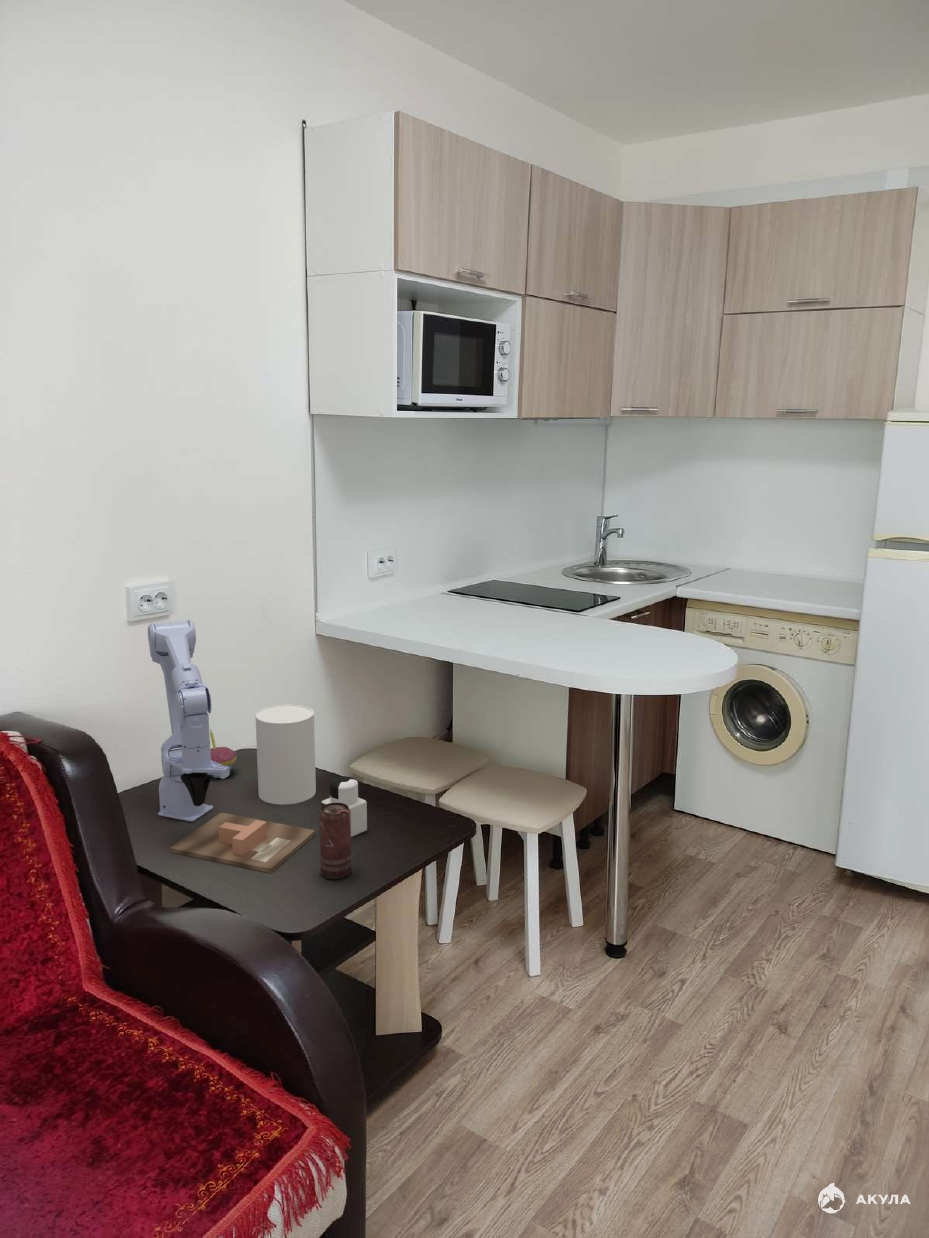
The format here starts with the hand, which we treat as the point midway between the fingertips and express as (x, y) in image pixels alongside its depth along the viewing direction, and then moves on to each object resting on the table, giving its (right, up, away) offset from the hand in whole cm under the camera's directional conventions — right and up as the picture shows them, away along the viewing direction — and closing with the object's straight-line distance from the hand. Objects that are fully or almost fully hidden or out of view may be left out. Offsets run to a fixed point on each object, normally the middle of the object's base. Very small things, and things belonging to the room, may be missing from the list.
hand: (199, 804), depth 191 cm
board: (+9, -8, +1) cm, 13 cm away
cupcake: (-5, 0, +36) cm, 36 cm away
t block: (+9, -8, -1) cm, 12 cm away
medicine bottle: (+30, -7, +7) cm, 32 cm away
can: (+31, -12, -11) cm, 35 cm away
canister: (+14, -3, +26) cm, 30 cm away
